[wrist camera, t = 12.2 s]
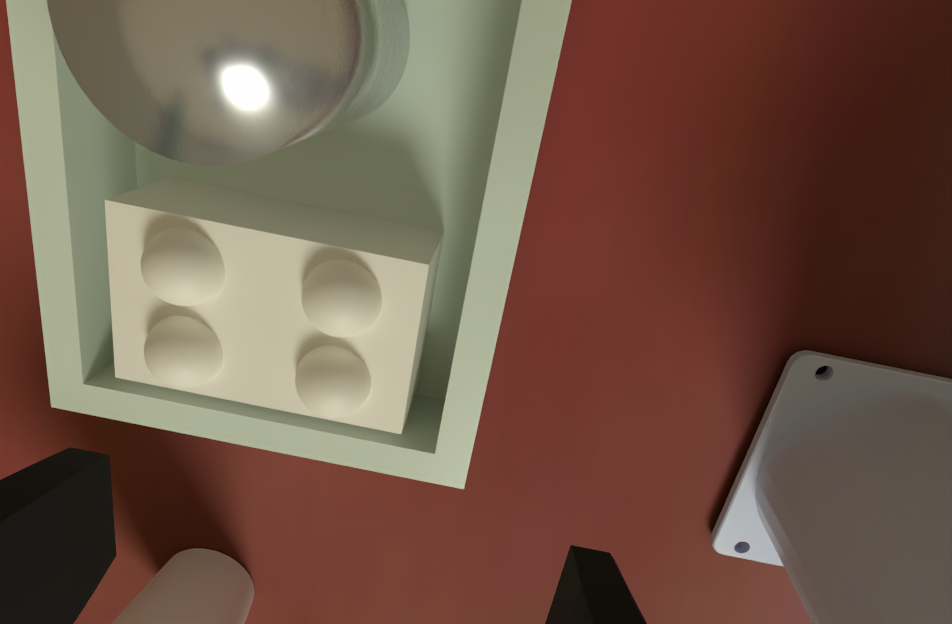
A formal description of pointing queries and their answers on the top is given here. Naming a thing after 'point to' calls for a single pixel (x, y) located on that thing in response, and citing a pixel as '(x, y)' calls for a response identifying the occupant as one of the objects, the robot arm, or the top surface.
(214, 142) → the tin can
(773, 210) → the top surface
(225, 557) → the smoothie
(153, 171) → the tote
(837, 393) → the robot arm
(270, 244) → the egg carton
